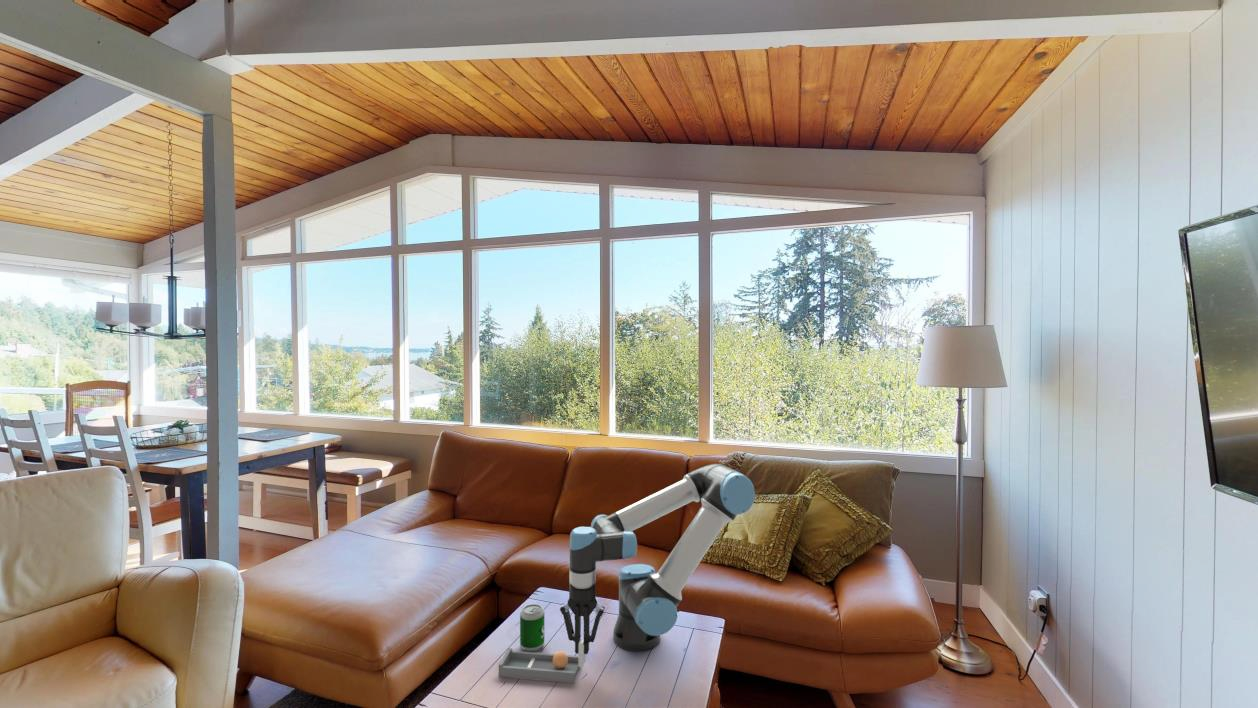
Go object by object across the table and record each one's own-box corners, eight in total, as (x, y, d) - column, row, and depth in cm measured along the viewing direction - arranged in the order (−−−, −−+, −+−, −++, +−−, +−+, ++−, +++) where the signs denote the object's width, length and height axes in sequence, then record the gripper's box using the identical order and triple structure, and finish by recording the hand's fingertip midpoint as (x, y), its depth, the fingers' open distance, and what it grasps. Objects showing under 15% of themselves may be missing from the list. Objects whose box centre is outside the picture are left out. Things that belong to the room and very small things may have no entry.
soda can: (539, 654, 165) (539, 616, 165) (516, 651, 167) (516, 613, 166) (547, 641, 173) (547, 604, 172) (525, 638, 174) (525, 601, 174)
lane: (580, 665, 160) (580, 653, 160) (574, 683, 152) (574, 670, 152) (508, 659, 163) (508, 648, 162) (498, 676, 154) (498, 664, 154)
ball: (569, 663, 158) (569, 648, 158) (565, 672, 154) (565, 657, 154) (554, 662, 159) (554, 647, 159) (550, 671, 154) (550, 656, 154)
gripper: (607, 578, 158) (606, 658, 158) (563, 575, 159) (562, 654, 160) (602, 590, 150) (601, 673, 151) (557, 587, 152) (556, 669, 153)
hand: (581, 663), depth 155 cm, fingers closed
